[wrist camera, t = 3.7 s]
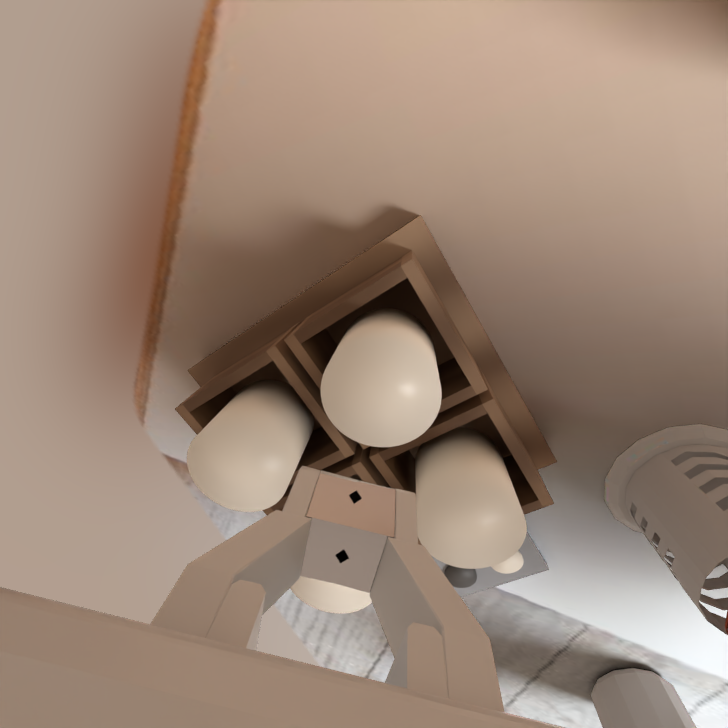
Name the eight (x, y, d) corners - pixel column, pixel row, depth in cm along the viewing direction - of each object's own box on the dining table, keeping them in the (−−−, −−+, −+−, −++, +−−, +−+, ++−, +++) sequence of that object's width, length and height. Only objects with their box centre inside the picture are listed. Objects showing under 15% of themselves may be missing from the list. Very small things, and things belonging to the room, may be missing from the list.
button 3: (516, 478, 22) (544, 548, 17) (440, 508, 23) (448, 580, 19) (477, 413, 21) (496, 469, 16) (399, 449, 22) (396, 511, 17)
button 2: (330, 432, 22) (309, 488, 18) (266, 464, 24) (232, 525, 19) (280, 364, 21) (243, 407, 16) (216, 403, 22) (166, 452, 18)
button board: (546, 444, 26) (587, 511, 20) (340, 530, 32) (323, 604, 26) (419, 215, 22) (423, 215, 16) (202, 359, 27) (143, 401, 21)
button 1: (451, 369, 20) (463, 416, 15) (372, 410, 21) (362, 464, 17) (403, 289, 19) (400, 314, 14) (323, 338, 20) (297, 375, 15)
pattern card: (546, 563, 30) (550, 572, 30) (447, 594, 33) (448, 604, 32) (497, 483, 28) (499, 491, 27) (394, 524, 31) (394, 533, 30)
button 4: (399, 525, 24) (397, 597, 20) (336, 549, 26) (320, 623, 21) (357, 468, 23) (344, 532, 18) (294, 498, 24) (267, 564, 20)
